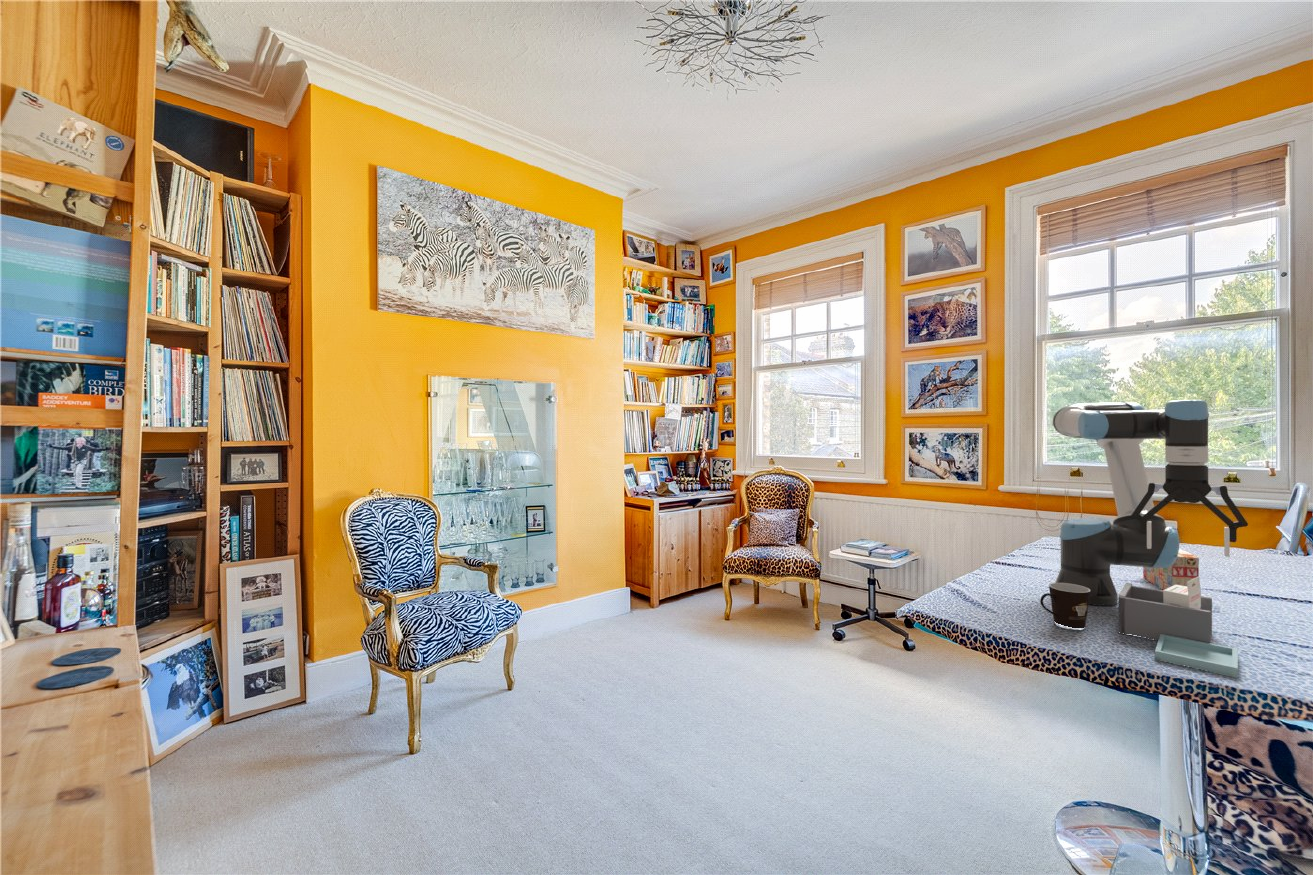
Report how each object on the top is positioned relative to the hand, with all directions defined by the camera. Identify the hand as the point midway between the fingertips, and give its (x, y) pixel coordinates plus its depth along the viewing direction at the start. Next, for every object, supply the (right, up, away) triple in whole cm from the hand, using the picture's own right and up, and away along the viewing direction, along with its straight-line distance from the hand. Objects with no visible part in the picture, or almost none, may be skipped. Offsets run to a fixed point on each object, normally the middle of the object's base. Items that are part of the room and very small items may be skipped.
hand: (1186, 551), depth 134 cm
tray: (-9, -21, -12) cm, 26 cm away
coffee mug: (-23, -21, +9) cm, 33 cm away
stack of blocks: (+32, -20, +40) cm, 55 cm away
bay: (-3, -21, +3) cm, 21 cm away
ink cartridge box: (-1, -21, 0) cm, 21 cm away
